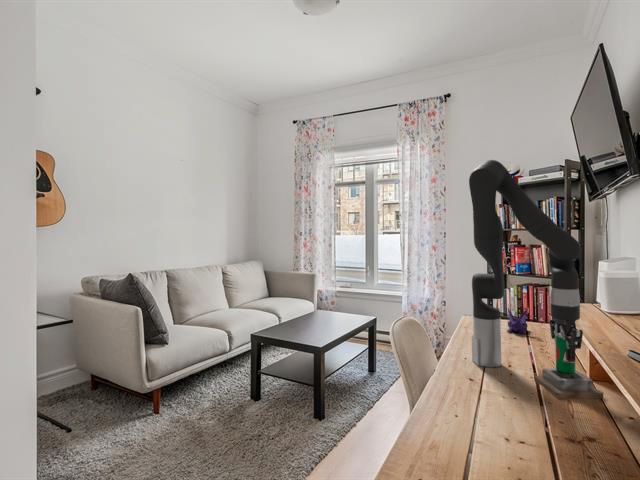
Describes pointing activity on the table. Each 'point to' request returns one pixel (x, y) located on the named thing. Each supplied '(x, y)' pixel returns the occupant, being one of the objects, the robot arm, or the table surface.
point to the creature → (517, 323)
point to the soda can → (563, 356)
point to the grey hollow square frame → (567, 384)
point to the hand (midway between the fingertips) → (565, 357)
